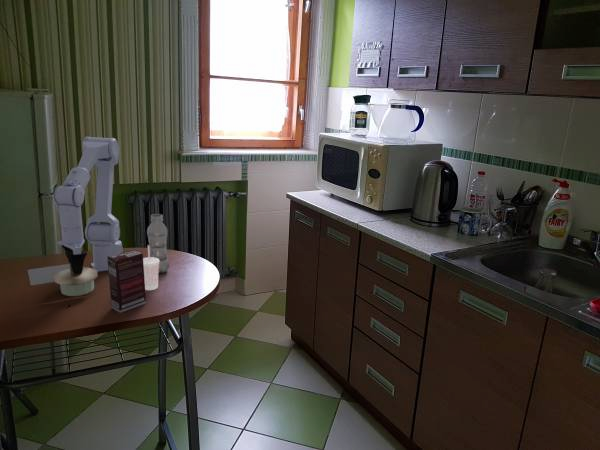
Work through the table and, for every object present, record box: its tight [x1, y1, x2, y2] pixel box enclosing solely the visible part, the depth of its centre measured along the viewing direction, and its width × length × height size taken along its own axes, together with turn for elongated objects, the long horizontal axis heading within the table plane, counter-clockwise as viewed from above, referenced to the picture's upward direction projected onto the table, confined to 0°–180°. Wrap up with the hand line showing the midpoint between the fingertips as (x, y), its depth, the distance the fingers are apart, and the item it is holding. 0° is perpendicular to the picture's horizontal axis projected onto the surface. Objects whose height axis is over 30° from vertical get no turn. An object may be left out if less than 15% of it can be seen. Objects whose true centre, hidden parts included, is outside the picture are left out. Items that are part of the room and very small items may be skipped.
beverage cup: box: [143, 244, 160, 291], centre depth 146 cm, size 6×6×14 cm
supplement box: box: [107, 249, 147, 314], centre depth 133 cm, size 9×5×16 cm, turn 141°
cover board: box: [53, 263, 98, 285], centre depth 141 cm, size 12×12×4 cm
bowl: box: [59, 279, 95, 298], centre depth 143 cm, size 9×9×4 cm
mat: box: [27, 263, 70, 287], centre depth 153 cm, size 14×14×1 cm
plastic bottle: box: [146, 213, 170, 274], centre depth 157 cm, size 6×7×20 cm
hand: (75, 269), depth 141 cm, fingers open, 7 cm apart
